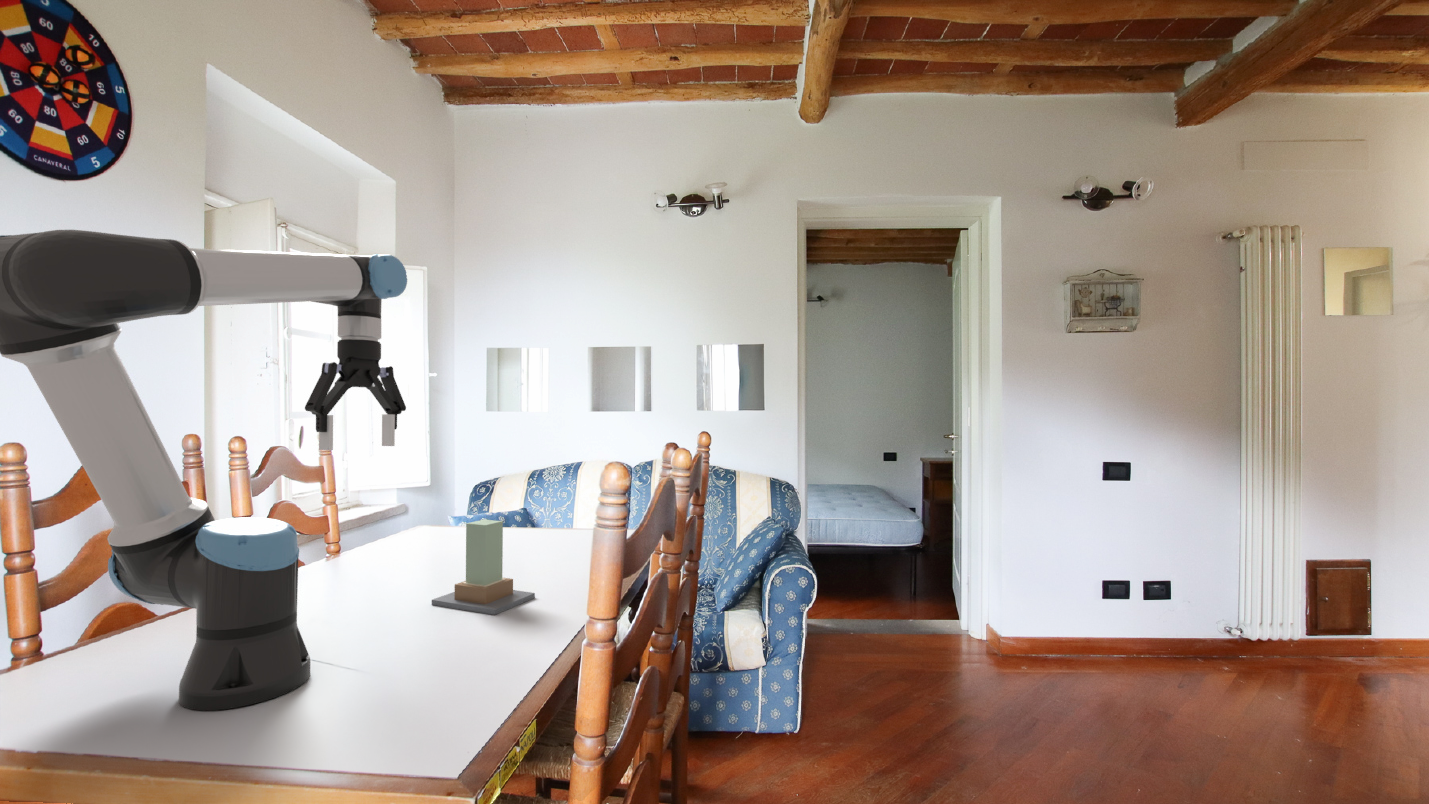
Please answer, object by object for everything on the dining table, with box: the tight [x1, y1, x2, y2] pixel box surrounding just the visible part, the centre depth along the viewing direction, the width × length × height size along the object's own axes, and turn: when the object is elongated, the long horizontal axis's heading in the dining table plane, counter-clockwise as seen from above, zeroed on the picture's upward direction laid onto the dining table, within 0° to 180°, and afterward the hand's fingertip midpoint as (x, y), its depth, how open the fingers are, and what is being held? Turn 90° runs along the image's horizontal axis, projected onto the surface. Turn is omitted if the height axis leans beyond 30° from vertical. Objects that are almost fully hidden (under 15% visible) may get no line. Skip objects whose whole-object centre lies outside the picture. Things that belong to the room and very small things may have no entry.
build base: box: [431, 577, 536, 616], centre depth 131 cm, size 12×16×4 cm
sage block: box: [465, 519, 504, 585], centre depth 131 cm, size 5×5×12 cm
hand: (358, 448), depth 125 cm, fingers open, 13 cm apart
